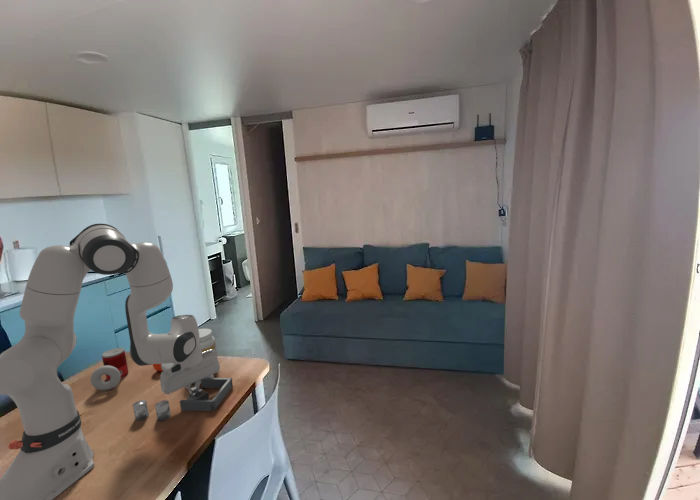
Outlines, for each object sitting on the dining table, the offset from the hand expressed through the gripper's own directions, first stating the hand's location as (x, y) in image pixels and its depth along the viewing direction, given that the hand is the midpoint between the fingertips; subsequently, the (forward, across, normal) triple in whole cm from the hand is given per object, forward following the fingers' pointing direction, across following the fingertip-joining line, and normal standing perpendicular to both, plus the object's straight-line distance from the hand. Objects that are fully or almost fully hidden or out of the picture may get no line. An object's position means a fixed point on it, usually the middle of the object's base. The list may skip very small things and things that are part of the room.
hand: (194, 392), depth 128 cm
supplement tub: (+2, -11, -17) cm, 20 cm away
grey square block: (+2, 0, +4) cm, 4 cm away
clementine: (+2, -1, -33) cm, 33 cm away
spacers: (+2, +4, -5) cm, 7 cm away
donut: (+2, +19, -34) cm, 39 cm away
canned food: (+2, +13, -43) cm, 45 cm away
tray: (+2, -3, +4) cm, 6 cm away
